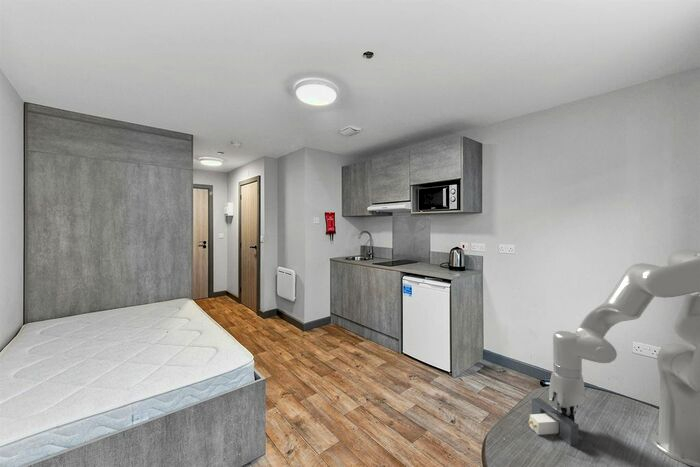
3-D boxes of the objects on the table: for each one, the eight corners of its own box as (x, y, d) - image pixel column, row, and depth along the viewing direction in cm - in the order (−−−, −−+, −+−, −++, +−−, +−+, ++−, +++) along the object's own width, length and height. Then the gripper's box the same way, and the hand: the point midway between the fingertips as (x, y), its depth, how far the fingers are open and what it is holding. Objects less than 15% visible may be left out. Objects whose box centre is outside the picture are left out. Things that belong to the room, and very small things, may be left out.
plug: (560, 424, 97) (560, 412, 97) (570, 432, 93) (570, 420, 93) (526, 426, 96) (526, 414, 96) (535, 435, 92) (535, 422, 92)
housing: (538, 413, 102) (538, 397, 101) (578, 443, 88) (578, 424, 88) (531, 415, 101) (531, 398, 101) (570, 445, 87) (570, 426, 87)
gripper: (574, 361, 100) (574, 412, 100) (539, 367, 97) (539, 420, 97) (596, 372, 93) (597, 427, 93) (559, 379, 89) (560, 436, 90)
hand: (568, 423), depth 95 cm, fingers closed
